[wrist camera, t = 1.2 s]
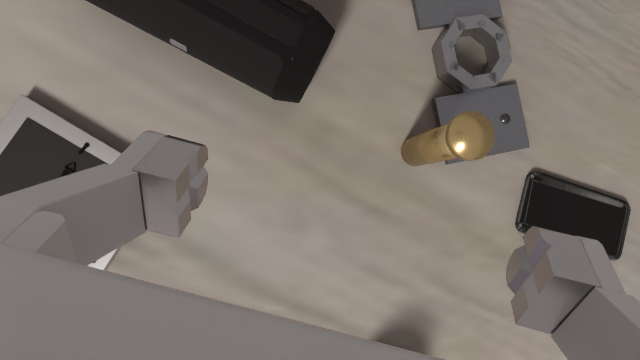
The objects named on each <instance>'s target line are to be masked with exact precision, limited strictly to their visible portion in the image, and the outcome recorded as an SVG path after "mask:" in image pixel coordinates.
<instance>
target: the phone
mask: <svg viewBox="0 0 640 360" xmlns="http://www.w3.org/2000/svg"><path fill="white" fill-rule="evenodd" d="M630 210H631V209H630V206H629V204H628V203H627V202H626V201H623V200H620V199H617V198H614V197H611V196H608V195H605V194H603V193H600V192H597V191H594V190H591V189H588V188H585V187H582V186H579V185H576V184H573V183H570V182H567V181H564V180H561V179H558V178H555V177H552V176H549V175H546V174H543V173H540V172H532V173H530V174H528V175H527V177H526V179H525V184H524V188H523V192H522V196H521V200H520V205H519V209H518V213H517V217H516V222H515V225H516V228H517V230H518V231H519V232H521V233H524V234H526V232H527V231H528V229H530V228H531V227H533V226H535V227H539V228H544V229H548V230H552V231H556V232H560V233H564V234H568V235H572V236H580V237H585V238H589V239H594V240H598V241H599V242H600V243H601V244H602V245H603V247H604V249H605V251H606V253H607V255H608V258H609V259H610V260H617V259H619V258H620V256H621V254H622V250H623V245H624V240H625V235H626V231H627V226H628V221H629V216H630Z"/></svg>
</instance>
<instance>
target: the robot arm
mask: <svg viewBox="0 0 640 360" xmlns="http://www.w3.org/2000/svg"><path fill="white" fill-rule="evenodd" d="M207 160H208V148H207V147H206V146H205V145H203V144H199V143H196V142H192V141H188V140H185V139H181V138H177V137H173V136H170V135H165V134H162V133H158V132H154V131H150V130H149V131H144V132H143V133H142V134H141V135H140V136H139V137H138V138H137V139H136V140H135V141H134V142H133V143H132V144H131V145H130V146H129V147H128V148H127V149H126V150H125V151H124V152H123V153H122V154H121V155H120V156H119V157H118V158H117V159H116V160H115V161H114V162H113V163H112V164H111V165H108V164H102V165H98V166H95V167H92V168H89V169H86V170H82V171H79V172H76V173H73V174H70V175H66V176H63V177H60V178H57V179H54V180H51V181H47V182H44V183H41V184H38V185H35V186H31V187H28V188H25V189H22V190H19V191H16V192H12V193H9V194H6V195H3V196H0V360H444V359H440V358H437V357H433V356H429V355H425V354H421V353H418V352H414V351H410V350H406V349H402V348H399V347H395V346H391V345H387V344H383V343H380V342H376V341H372V340H368V339H364V338H360V337H357V336H353V335H349V334H345V333H341V332H338V331H334V330H330V329H326V328H322V327H318V326H315V325H311V324H307V323H303V322H299V321H296V320H292V319H288V318H284V317H280V316H276V315H273V314H269V313H265V312H261V311H257V310H254V309H250V308H246V307H242V306H238V305H235V304H231V303H227V302H223V301H219V300H215V299H212V298H208V297H204V296H200V295H196V294H193V293H189V292H185V291H181V290H177V289H173V288H170V287H166V286H162V285H158V284H154V283H151V282H147V281H143V280H139V279H135V278H132V277H128V276H124V275H120V274H116V273H112V272H109V271H105V270H101V269H97V268H93V267H90V266H88V265H89V264H91V263H93V262H94V261H96V260H98V259H100V258H101V257H103V256H105V255H107V254H108V253H110V252H112V251H114V250H115V249H117V248H119V247H120V246H122V245H124V244H126V243H127V242H129V241H131V240H133V239H134V238H136V237H138V236H139V235H141V234H143V233H145V232H146V231H145V230H147V231H151V232H156V233H160V234H165V235H169V236H173V237H178V238H179V237H180V236H181V234H182V233H183V231H184V229H185V228H186V226H187V225H188V223H189V222H190V220H191V211H192V210H194V209H197V208H198V207H199V206H200V204H201V202H202V201H203V198H204V195H205V193H206V190H207V184H208V172H207V171H206V170H205V168H204V167H203V166H204V164H205V163H206V161H207ZM523 239H524V243H525V245H524V246H522V247H519V248H517V249H515V250H514V252H513V253H512V255H511V257H510V258H509V261H508V265H507V269H506V279H507V285H508V287H509V288H510V289H511V290H512V292H513V293H514V294H515V296H514V297H513V299H512V300H511V304H512V309H513V314H514V319H515V323H516V324H517V325H520V326H524V327H527V328H531V329H534V330H538V331H541V332H545V333H548V334H552V335H551V337H552V338H553V340H554V341H555V342H556V344H557V345H558V347H559V348H560V349H561V351H562V352H563V353H564V355H565V356H566V358H567V359H568V360H640V302H639V301H638V300H637V299H635V298H634V297H633V296H630V295H626V293H625V291H624V289H623V287H622V285H621V283H620V281H619V279H618V277H617V274H616V272H615V270H614V268H613V266H612V264H611V262H610V260H609V258H608V255H607V253H606V251H605V249H604V247H603V245H602V244H601V243H600V242H599V241H598V240H594V239H589V238H585V237H580V236H572V235H568V234H564V233H560V232H556V231H552V230H548V229H544V228H539V227H535V226H533V227H531V228H530V229H528V231H527V232H526V234H525V235H524V236H523Z"/></svg>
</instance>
